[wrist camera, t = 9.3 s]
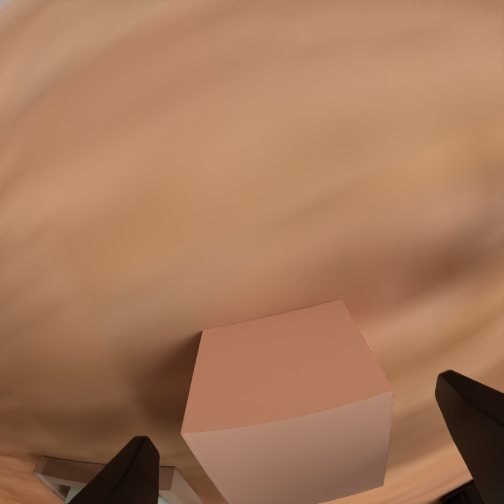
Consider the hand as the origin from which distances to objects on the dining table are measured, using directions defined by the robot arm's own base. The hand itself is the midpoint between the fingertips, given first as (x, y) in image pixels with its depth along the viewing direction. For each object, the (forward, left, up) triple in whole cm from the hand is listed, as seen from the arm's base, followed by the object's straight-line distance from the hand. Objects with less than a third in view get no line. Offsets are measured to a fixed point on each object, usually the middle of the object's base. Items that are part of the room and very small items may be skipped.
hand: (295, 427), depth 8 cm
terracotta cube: (0, 0, -3) cm, 3 cm away
